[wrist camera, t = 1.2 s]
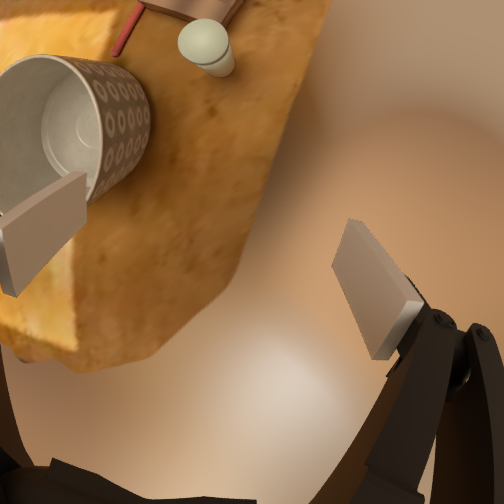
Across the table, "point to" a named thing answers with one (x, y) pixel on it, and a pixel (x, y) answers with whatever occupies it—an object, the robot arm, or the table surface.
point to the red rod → (127, 29)
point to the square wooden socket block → (196, 9)
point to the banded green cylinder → (207, 47)
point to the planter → (68, 125)
